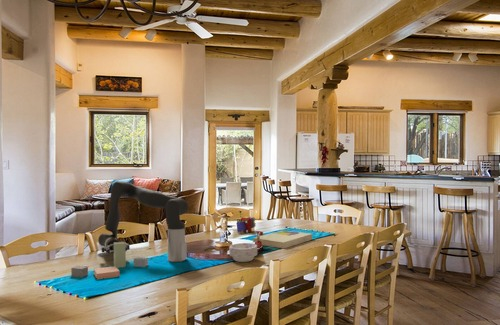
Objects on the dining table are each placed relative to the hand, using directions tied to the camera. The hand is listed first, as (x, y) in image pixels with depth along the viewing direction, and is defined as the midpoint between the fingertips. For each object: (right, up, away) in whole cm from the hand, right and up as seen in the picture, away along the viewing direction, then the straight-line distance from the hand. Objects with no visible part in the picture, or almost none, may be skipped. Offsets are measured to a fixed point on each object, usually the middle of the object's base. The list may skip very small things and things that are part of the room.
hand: (117, 250), depth 216 cm
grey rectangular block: (-11, -7, -22) cm, 25 cm away
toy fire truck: (+75, -7, +35) cm, 83 cm away
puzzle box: (+92, -7, +56) cm, 108 cm away
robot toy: (+67, -6, +93) cm, 115 cm away
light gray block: (+13, -7, -4) cm, 16 cm away
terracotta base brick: (+2, -8, -22) cm, 23 cm away
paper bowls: (+66, -7, +7) cm, 67 cm away
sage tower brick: (+3, -7, -5) cm, 9 cm away
